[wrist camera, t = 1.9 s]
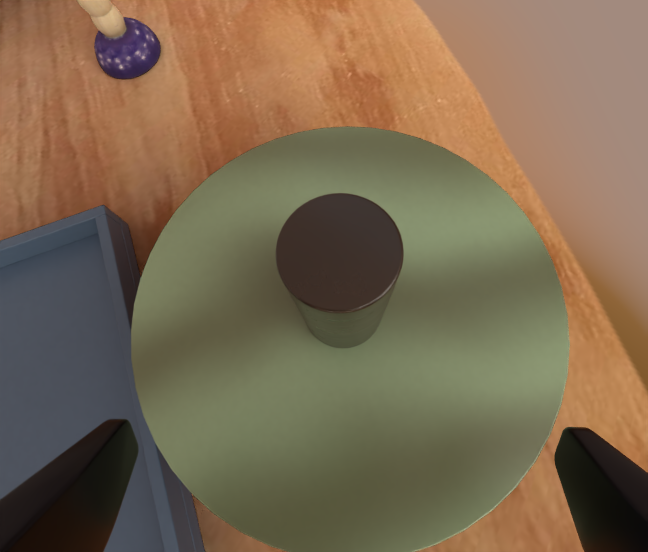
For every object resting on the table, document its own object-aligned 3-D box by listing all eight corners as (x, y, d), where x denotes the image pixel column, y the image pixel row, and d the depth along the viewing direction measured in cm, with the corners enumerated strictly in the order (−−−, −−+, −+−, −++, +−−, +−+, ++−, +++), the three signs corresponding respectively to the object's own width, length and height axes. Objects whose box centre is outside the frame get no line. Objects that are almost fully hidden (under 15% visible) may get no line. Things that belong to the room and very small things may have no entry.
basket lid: (640, 446, 14) (936, 493, 7) (203, 625, 13) (36, 885, 6) (441, 97, 18) (497, -85, 11) (111, 214, 17) (-42, 94, 11)
